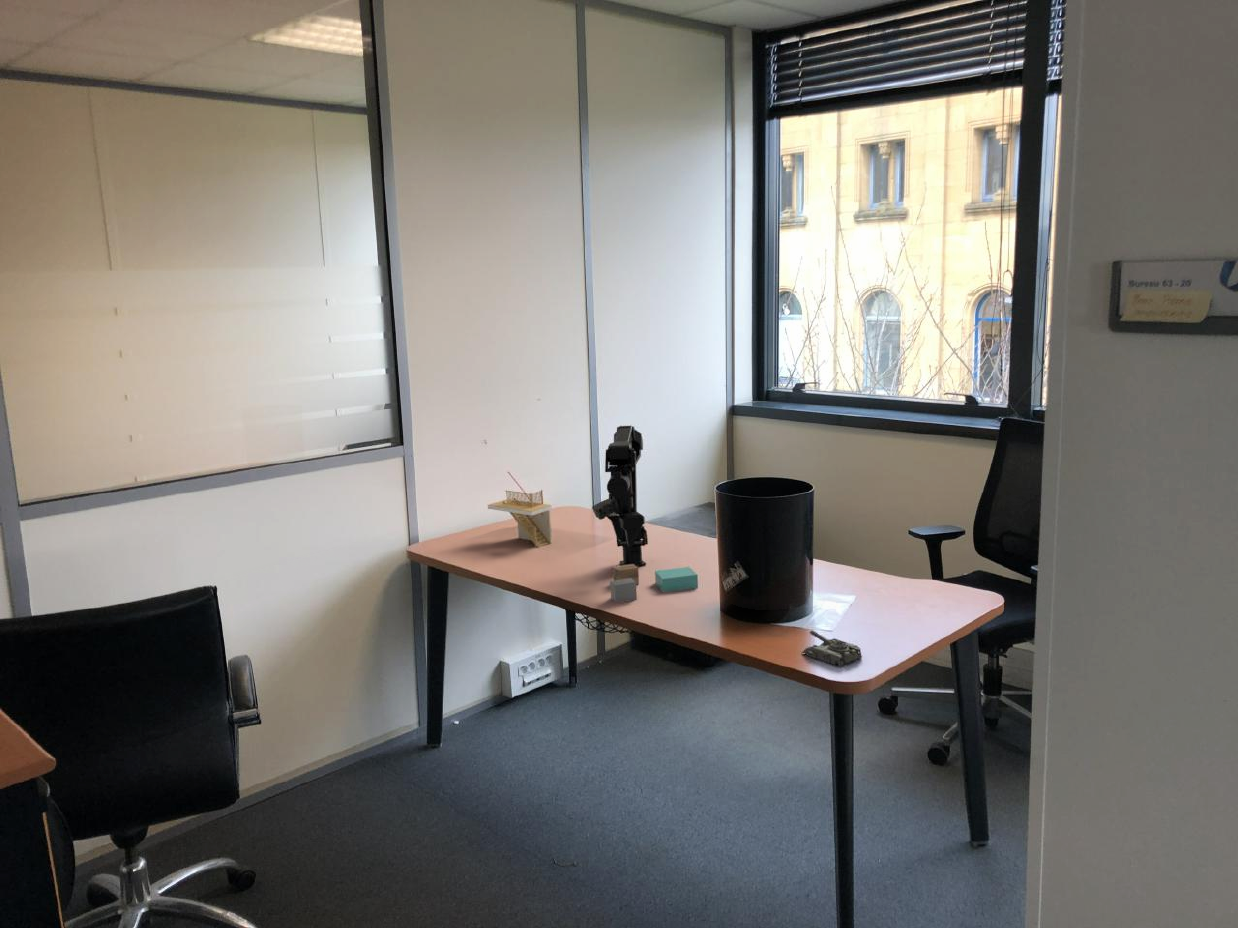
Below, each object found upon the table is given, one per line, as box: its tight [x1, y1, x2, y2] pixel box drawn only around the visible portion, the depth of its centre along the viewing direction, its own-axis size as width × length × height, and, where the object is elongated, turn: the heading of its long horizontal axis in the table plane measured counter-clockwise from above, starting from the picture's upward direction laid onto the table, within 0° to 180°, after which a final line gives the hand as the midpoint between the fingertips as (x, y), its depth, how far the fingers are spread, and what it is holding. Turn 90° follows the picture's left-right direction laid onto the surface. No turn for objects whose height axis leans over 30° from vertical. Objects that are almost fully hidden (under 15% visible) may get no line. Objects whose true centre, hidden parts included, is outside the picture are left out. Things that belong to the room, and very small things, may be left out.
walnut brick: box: [613, 564, 640, 586], centre depth 272 cm, size 4×6×5 cm, turn 109°
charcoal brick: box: [609, 578, 638, 604], centre depth 260 cm, size 4×6×5 cm, turn 109°
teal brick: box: [654, 566, 699, 593], centre depth 269 cm, size 8×10×4 cm
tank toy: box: [801, 630, 863, 668], centre depth 214 cm, size 12×10×5 cm
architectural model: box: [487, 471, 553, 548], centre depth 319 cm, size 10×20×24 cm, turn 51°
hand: (624, 543), depth 271 cm, fingers open, 9 cm apart
